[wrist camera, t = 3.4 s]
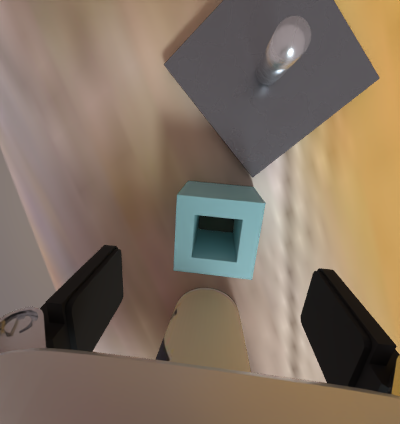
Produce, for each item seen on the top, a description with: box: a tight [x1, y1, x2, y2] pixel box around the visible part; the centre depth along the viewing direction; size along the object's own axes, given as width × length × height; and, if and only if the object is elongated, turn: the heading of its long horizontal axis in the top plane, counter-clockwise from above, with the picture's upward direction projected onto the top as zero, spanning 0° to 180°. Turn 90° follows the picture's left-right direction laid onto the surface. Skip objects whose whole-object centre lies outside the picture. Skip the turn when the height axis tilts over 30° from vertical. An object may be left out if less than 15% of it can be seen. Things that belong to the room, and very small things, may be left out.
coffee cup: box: [156, 288, 251, 372], centre depth 21 cm, size 9×9×12 cm
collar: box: [173, 181, 265, 280], centre depth 20 cm, size 6×6×6 cm
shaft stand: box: [164, 0, 379, 177], centre depth 15 cm, size 12×12×7 cm
